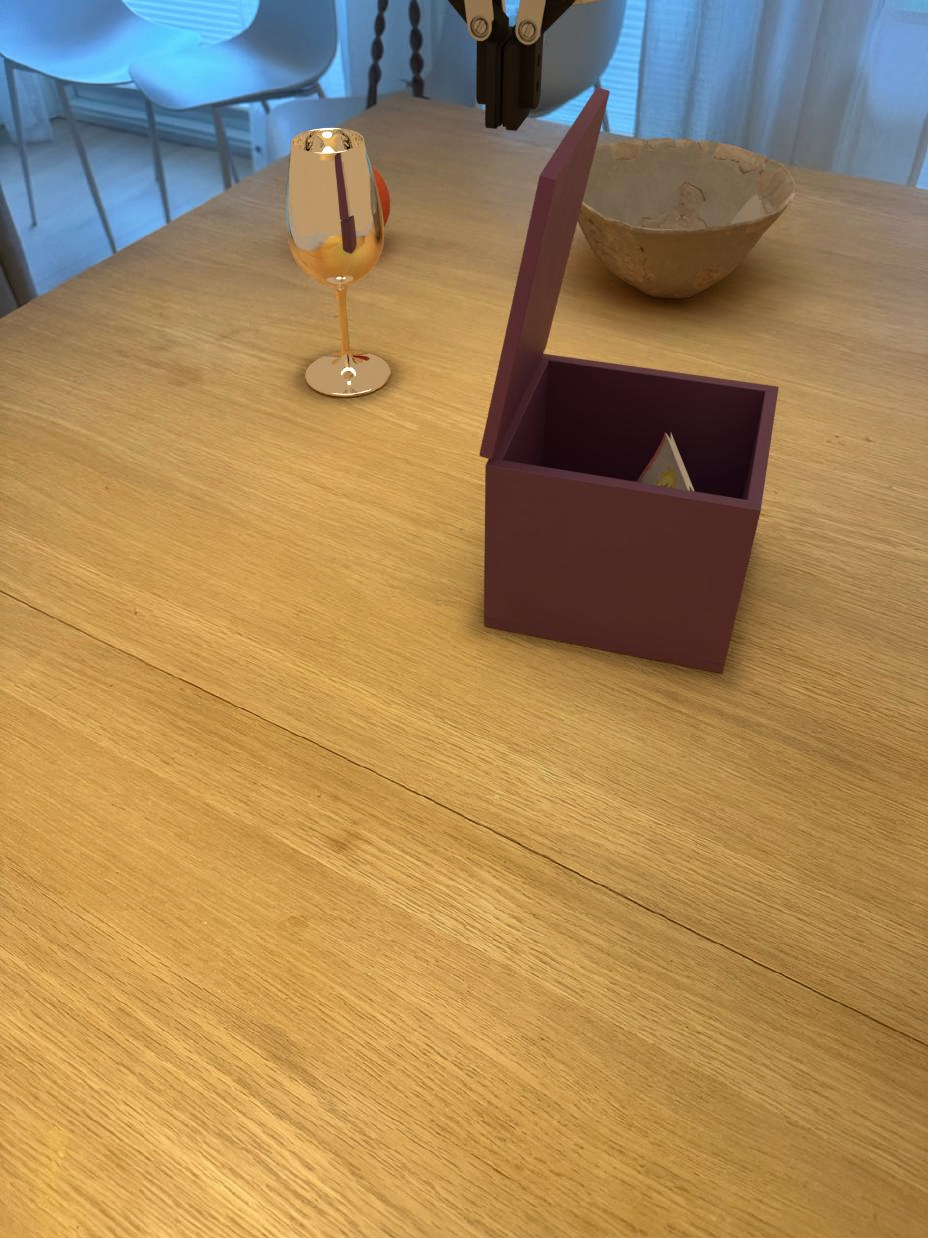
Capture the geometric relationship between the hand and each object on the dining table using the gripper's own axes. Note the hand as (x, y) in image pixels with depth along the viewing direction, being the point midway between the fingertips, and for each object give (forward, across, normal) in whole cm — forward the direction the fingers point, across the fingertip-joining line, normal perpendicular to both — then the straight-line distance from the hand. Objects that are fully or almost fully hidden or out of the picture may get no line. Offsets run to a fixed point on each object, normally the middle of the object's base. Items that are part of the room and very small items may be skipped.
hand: (507, 120), depth 54 cm
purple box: (+29, +9, 0) cm, 31 cm away
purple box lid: (+8, +3, 0) cm, 9 cm away
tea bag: (+29, +12, -1) cm, 31 cm away
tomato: (+30, -29, +46) cm, 62 cm away
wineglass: (+30, -19, +21) cm, 41 cm away
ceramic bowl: (+30, +5, +48) cm, 57 cm away
